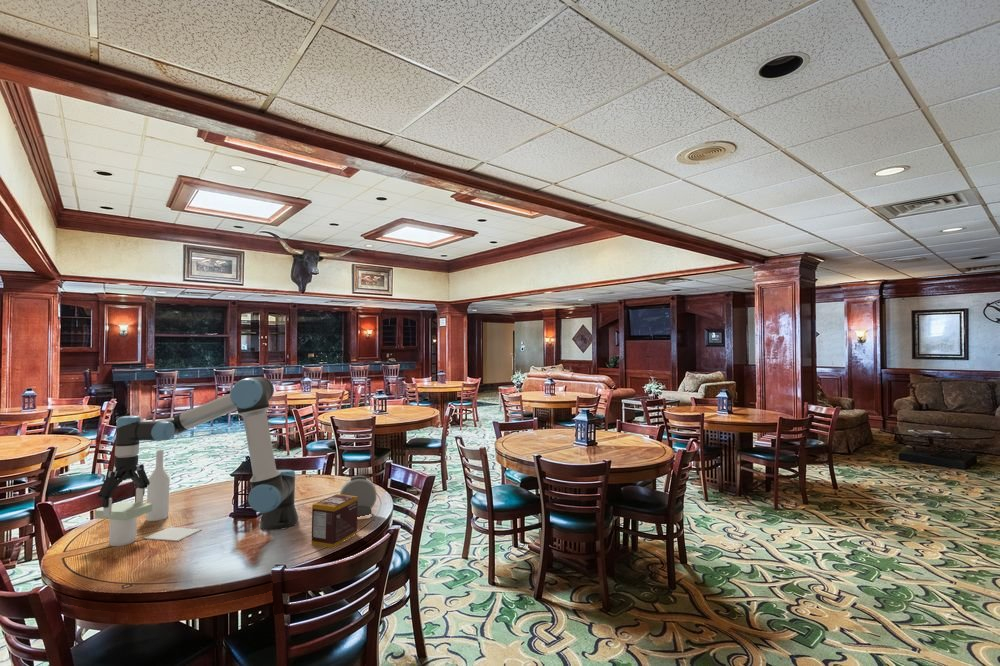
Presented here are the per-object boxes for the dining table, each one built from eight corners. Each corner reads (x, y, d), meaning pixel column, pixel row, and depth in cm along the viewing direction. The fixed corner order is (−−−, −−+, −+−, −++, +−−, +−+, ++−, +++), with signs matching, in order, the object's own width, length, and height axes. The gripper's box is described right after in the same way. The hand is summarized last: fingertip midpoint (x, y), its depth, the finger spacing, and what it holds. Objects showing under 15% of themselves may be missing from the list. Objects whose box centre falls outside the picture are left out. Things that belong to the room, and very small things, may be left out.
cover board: (152, 511, 192) (152, 503, 192) (126, 520, 181) (127, 512, 182) (122, 509, 195) (122, 501, 195) (95, 518, 184) (95, 510, 184)
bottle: (147, 522, 208) (149, 453, 209) (145, 517, 214) (148, 450, 215) (169, 518, 213) (172, 450, 215) (167, 513, 219) (169, 448, 221)
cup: (107, 548, 180) (108, 521, 181) (111, 538, 190) (112, 512, 191) (134, 543, 185) (135, 517, 185) (137, 533, 195) (138, 508, 195)
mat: (201, 530, 199) (201, 529, 199) (177, 541, 187) (177, 540, 187) (169, 528, 201) (169, 527, 202) (144, 538, 190) (144, 537, 190)
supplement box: (357, 534, 196) (358, 495, 197) (333, 548, 182) (333, 507, 182) (336, 531, 199) (337, 493, 200) (310, 544, 185) (311, 504, 186)
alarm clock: (375, 511, 225) (375, 472, 226) (376, 518, 215) (377, 477, 216) (339, 514, 220) (339, 474, 221) (338, 522, 210) (339, 480, 211)
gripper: (146, 449, 202) (143, 499, 201) (87, 461, 177) (83, 519, 176) (161, 449, 201) (159, 501, 200) (104, 462, 176) (101, 521, 175)
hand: (123, 510), depth 188 cm, fingers open, 13 cm apart
